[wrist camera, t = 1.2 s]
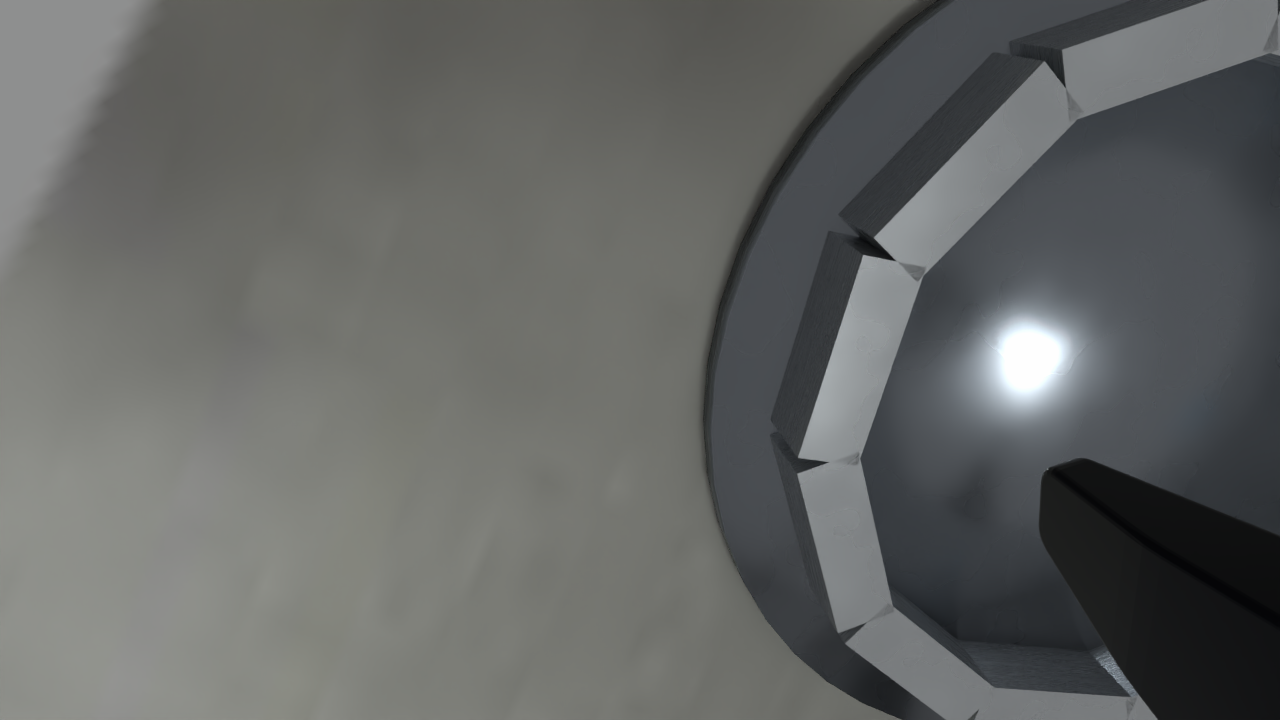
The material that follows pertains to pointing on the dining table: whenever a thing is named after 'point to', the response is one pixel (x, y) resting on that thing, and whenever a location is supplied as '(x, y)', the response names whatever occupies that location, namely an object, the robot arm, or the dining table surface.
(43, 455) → the dining table surface
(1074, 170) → the grey round dish
